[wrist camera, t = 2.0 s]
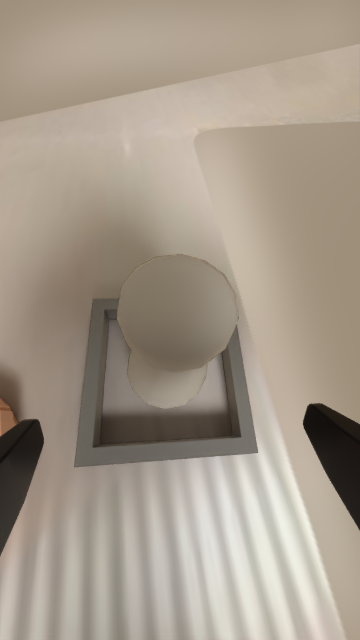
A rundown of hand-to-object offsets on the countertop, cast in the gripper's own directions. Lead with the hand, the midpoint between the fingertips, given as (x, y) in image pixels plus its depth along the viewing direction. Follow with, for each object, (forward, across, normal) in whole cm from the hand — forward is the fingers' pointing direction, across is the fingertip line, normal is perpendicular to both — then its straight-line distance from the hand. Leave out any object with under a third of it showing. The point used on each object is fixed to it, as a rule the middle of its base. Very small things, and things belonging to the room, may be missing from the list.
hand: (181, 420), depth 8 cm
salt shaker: (+10, 0, +5) cm, 12 cm away
